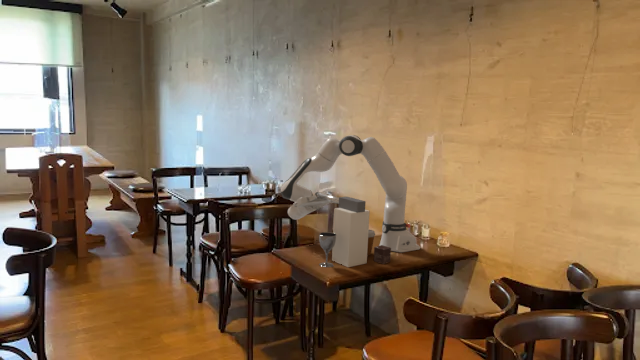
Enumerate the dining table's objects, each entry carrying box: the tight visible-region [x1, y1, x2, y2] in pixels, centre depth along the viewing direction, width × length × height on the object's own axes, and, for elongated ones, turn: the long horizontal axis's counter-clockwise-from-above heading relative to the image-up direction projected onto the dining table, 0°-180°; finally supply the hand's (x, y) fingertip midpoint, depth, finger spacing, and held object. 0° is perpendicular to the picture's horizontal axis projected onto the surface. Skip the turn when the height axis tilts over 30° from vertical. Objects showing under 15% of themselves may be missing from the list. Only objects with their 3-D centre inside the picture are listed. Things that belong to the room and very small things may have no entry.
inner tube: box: [314, 191, 340, 205], centre depth 250 cm, size 23×3×3 cm, turn 38°
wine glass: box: [318, 231, 336, 268], centre depth 235 cm, size 8×8×15 cm
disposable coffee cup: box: [367, 229, 376, 256], centre depth 256 cm, size 10×10×12 cm
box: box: [373, 244, 392, 265], centre depth 244 cm, size 6×6×7 cm
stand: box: [331, 196, 370, 268], centre depth 240 cm, size 14×12×31 cm
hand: (322, 195), depth 256 cm, fingers open, 6 cm apart
